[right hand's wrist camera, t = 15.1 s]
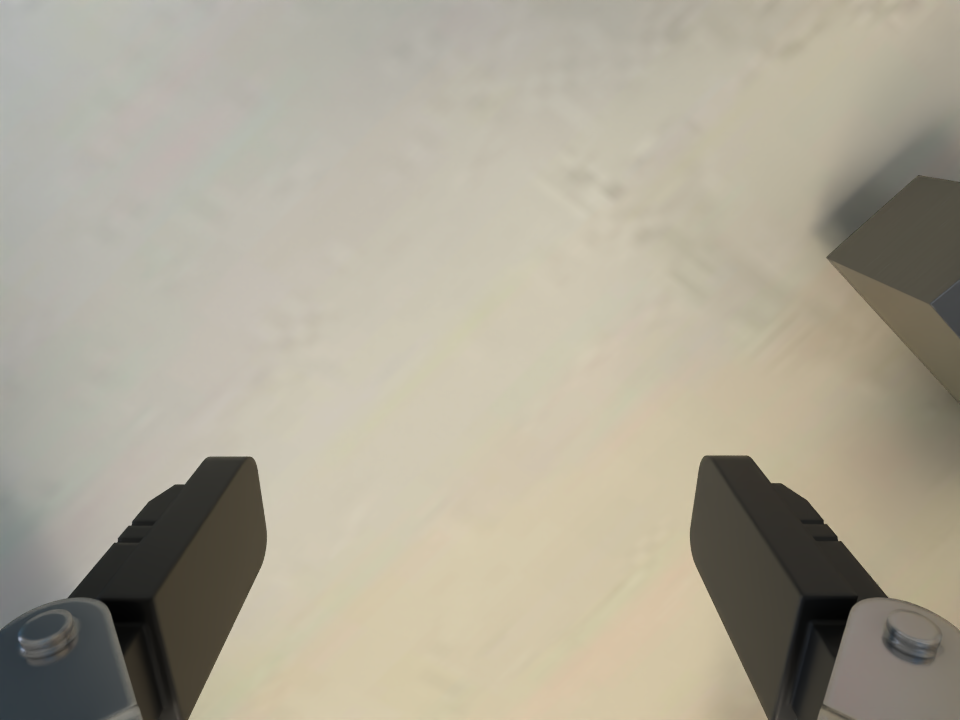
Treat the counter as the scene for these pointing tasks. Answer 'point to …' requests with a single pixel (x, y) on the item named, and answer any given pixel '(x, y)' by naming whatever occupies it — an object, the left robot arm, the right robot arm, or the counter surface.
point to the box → (913, 272)
